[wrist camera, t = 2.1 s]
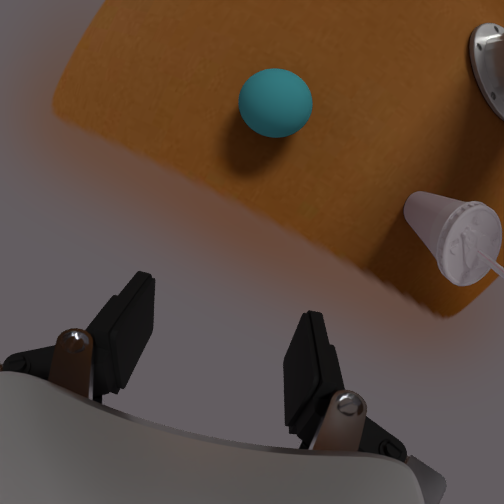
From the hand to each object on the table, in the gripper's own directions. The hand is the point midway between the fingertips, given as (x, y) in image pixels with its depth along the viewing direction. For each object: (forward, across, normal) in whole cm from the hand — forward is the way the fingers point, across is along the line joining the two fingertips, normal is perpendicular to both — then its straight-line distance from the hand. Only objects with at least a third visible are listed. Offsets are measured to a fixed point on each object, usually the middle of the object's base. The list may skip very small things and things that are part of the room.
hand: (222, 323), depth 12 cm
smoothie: (+16, -16, -5) cm, 23 cm away
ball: (+13, 0, -10) cm, 16 cm away
